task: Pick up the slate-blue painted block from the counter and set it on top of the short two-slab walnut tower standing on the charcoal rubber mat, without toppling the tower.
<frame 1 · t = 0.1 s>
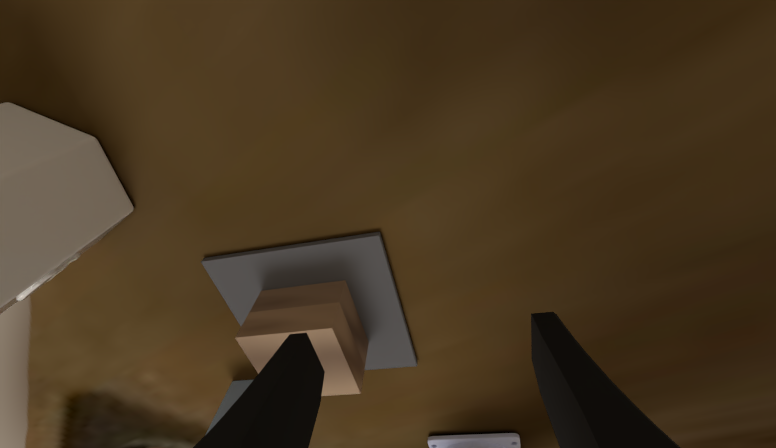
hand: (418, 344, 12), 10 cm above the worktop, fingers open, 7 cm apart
mat: (318, 313, 26), on the worktop
slab lower: (317, 317, 25), resting on mat, touching slab upper
jar: (62, 176, 22), on the worktop
blue cube: (266, 394, 32), on the worktop
slab upper: (309, 340, 24), point 2 cm above the worktop, touching slab lower
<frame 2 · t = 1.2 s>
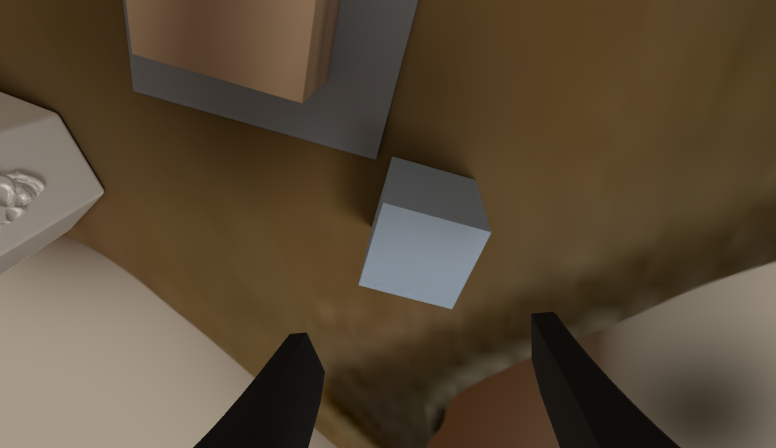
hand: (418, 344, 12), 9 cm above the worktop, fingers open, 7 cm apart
jar: (28, 159, 20), on the worktop
blue cube: (421, 204, 20), on the worktop
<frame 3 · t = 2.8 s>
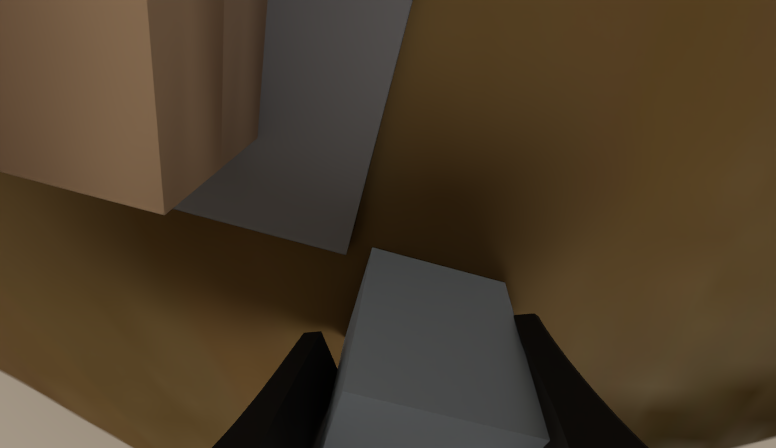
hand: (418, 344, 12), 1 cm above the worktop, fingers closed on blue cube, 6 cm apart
blue cube: (418, 312, 13), on the worktop, touching gripper
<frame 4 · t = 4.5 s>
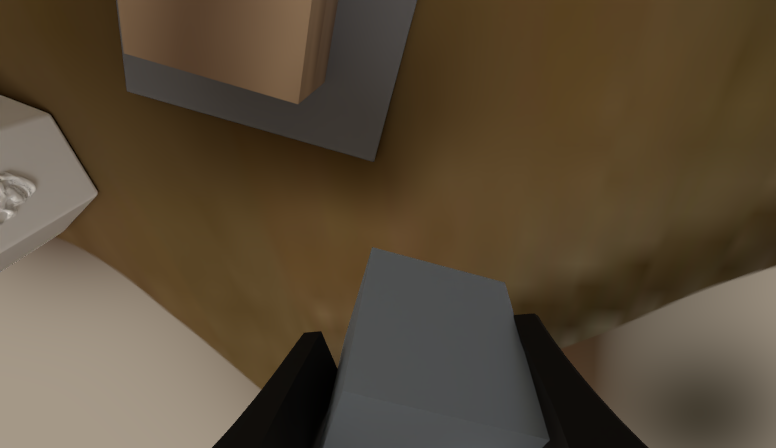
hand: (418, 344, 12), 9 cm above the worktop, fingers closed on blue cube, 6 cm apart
jar: (20, 160, 20), on the worktop
blue cube: (418, 312, 13), point 8 cm above the worktop, touching gripper
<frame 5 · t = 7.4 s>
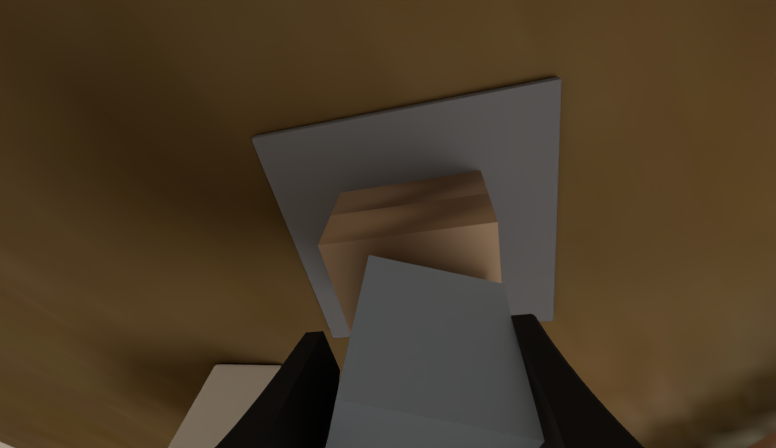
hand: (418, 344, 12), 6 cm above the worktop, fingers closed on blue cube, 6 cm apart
mat: (419, 235, 17), on the worktop
slab lower: (419, 240, 17), resting on mat, touching slab upper
jar: (265, 396, 26), on the worktop
blue cube: (419, 316, 13), point 5 cm above the worktop, touching gripper
slab upper: (419, 267, 15), point 2 cm above the worktop, touching slab lower
when the fingers open (6 cm above the worktop, at t = 8.2 s): blue cube stays where it is, resting on slab upper.
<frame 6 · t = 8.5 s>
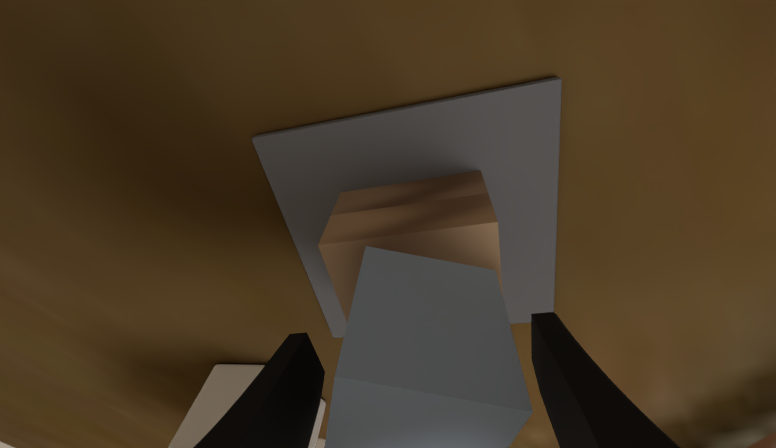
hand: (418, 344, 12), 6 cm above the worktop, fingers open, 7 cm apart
mat: (419, 235, 17), on the worktop
slab lower: (419, 240, 17), resting on mat, touching slab upper
jar: (265, 395, 26), on the worktop
blue cube: (416, 305, 13), point 4 cm above the worktop, touching slab upper
slab upper: (419, 267, 15), point 2 cm above the worktop, touching blue cube, slab lower
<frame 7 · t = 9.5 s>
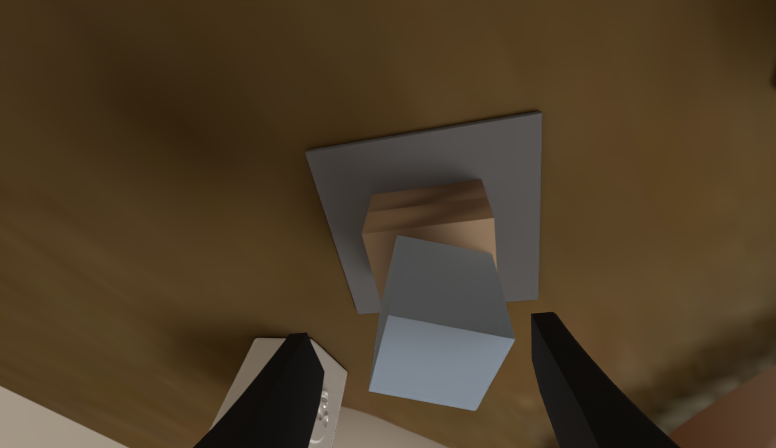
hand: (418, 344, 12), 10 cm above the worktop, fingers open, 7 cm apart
mat: (432, 229, 22), on the worktop
slab lower: (432, 232, 21), resting on mat, touching slab upper
jar: (295, 367, 30), on the worktop
blue cube: (432, 280, 18), point 4 cm above the worktop, touching slab upper
slab upper: (433, 253, 19), point 2 cm above the worktop, touching blue cube, slab lower
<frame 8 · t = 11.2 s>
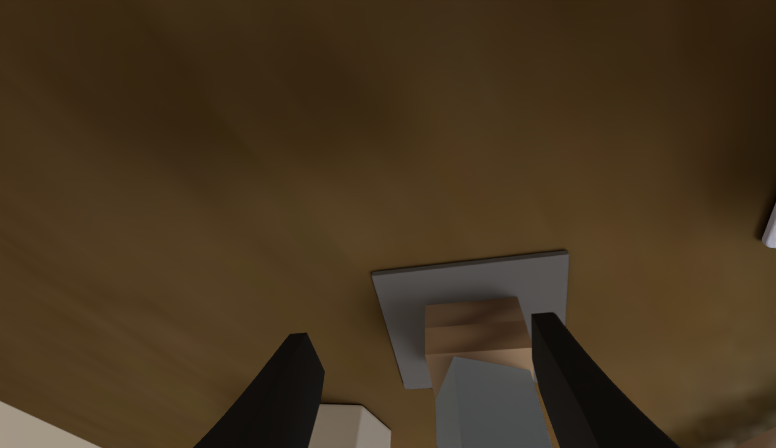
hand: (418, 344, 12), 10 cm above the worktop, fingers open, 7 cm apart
mat: (473, 328, 26), on the worktop
slab lower: (474, 332, 25), resting on mat, touching slab upper
jar: (344, 425, 34), on the worktop
blue cube: (480, 386, 22), point 4 cm above the worktop, touching slab upper
slab upper: (477, 356, 24), point 2 cm above the worktop, touching blue cube, slab lower
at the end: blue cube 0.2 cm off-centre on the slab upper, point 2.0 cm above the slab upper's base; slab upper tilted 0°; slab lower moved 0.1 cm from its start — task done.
